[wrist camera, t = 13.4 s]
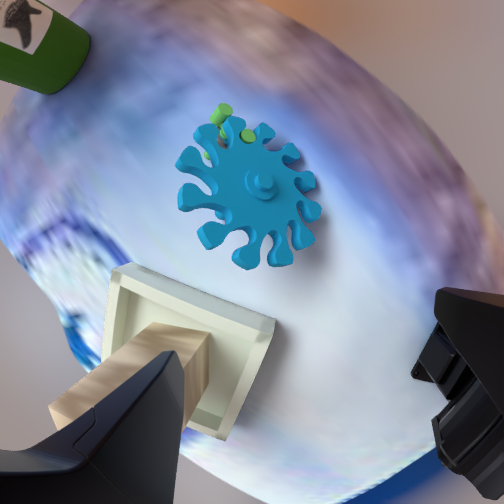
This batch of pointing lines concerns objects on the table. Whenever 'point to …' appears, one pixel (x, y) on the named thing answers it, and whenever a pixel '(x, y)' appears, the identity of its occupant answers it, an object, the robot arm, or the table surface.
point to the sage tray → (198, 318)
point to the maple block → (132, 360)
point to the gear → (248, 189)
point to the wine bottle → (39, 46)
